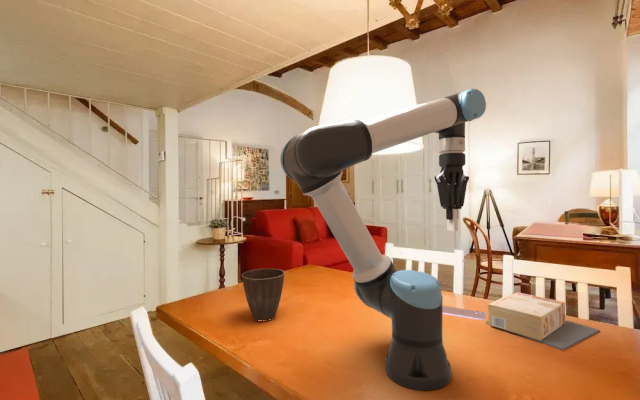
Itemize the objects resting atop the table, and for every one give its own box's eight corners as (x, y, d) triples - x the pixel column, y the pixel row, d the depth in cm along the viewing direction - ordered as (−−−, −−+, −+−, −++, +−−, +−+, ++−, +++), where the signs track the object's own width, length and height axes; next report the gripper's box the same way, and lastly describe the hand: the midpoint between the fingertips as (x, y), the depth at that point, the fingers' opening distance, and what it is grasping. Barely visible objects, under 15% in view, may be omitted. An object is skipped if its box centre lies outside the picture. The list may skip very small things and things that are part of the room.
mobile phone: (441, 304, 124) (486, 311, 116) (441, 307, 124) (486, 314, 116) (437, 311, 117) (484, 318, 109) (437, 314, 117) (484, 321, 109)
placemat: (563, 350, 88) (563, 348, 88) (486, 323, 107) (486, 321, 107) (599, 331, 99) (599, 329, 99) (524, 310, 118) (524, 308, 118)
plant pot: (294, 315, 119) (292, 271, 118) (265, 329, 106) (263, 280, 106) (264, 308, 127) (262, 266, 127) (234, 320, 115) (232, 275, 114)
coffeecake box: (541, 341, 92) (566, 323, 104) (541, 316, 92) (565, 301, 104) (487, 325, 104) (515, 311, 116) (487, 303, 104) (514, 291, 116)
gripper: (447, 150, 94) (447, 232, 94) (476, 153, 100) (477, 230, 100) (427, 153, 101) (427, 230, 101) (456, 155, 107) (456, 228, 107)
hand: (452, 230), depth 101 cm, fingers closed
